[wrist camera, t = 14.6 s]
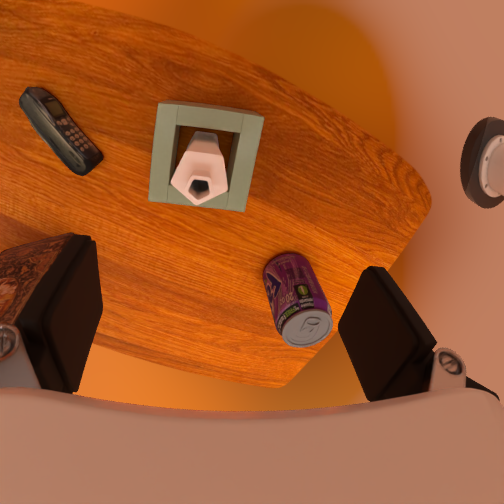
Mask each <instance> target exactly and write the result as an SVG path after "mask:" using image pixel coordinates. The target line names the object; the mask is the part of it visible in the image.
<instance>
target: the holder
mask: <svg viewBox="0 0 504 504" xmlns="http://www.w3.org/2000/svg"><path fill="white" fill-rule="evenodd" d="M263 123H264V117H263V116H262V115H260V114H259V113H257V112H255V111H250V110H244V109H238V108H232V107H225V106H219V105H211V104H204V103H196V102H187V101H177V100H165V101H163V102H160V103H158V109H157V116H156V124H155V132H154V140H153V149H152V159H151V170H150V182H149V196H148V201H152V202H162V203H171V204H181V205H190V206H199V207H207V208H216V209H224V210H232V211H240V212H245V207H246V202H247V197H248V193H249V188H250V183H251V178H252V174H253V169H254V164H255V160H256V155H257V150H258V146H259V141H260V136H261V132H262V127H263ZM181 125H183V126H192V127H200V128H208V129H215V130H223V131H229V132H234V135H233V141H232V146H231V151H230V157H229V162H228V167H227V173H226V178H227V185H228V190H227V191H226V192H224V193H222V194H220V195H218V196H216V197H214V198H212V199H210V200H208V201H206V202H203V203H201V204H199V205H195V204H193V203H192V202H191V201H190V200H189V199H188V198H186V197H185V196H184V195H183V194H182V193H181V192H180V191H178V190H177V189H176V188H175V187H174V186H173V185H172V184H171V180H172V177H173V175H174V173H175V171H176V169H175V163H176V155H177V147H178V140H179V133H180V126H181Z"/></svg>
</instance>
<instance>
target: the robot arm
mask: <svg viewBox="0 0 504 504" xmlns="http://www.w3.org/2000/svg"><path fill="white" fill-rule="evenodd" d="M479 182H480V186H481V188H482V190H483V191H484V193H486V194H487V195H489V196H491V197H498V196H500V195H503V196H504V136H503V135H496V136H494V137H493V138H491V139H490V140H489V142H488V143H487V144H486V146H485V148H484V150H483V152H482V155H481V158H480V163H479ZM102 311H103V302H102V294H101V287H100V279H99V270H98V260H97V249H96V242H95V241H92V240H91V237H90V236H87V235H77V234H74V235H73V236H72V237H71V238H70V240H69V241H68V242H67V244H66V245H65V246H64V248H63V249H62V251H61V252H60V253H59V255H58V256H57V258H56V259H55V261H54V262H53V264H52V265H51V267H50V268H49V270H48V271H46V273H45V274H44V275H43V277H42V278H41V280H40V281H39V283H38V284H37V286H36V287H35V289H34V291H33V292H32V294H31V296H30V297H29V299H28V300H27V302H26V304H25V306H24V307H23V309H22V311H21V312H20V314H19V316H18V318H17V319H16V321H15V323H14V325H13V324H10V323H7V322H0V504H504V407H503V406H502V404H501V403H500V401H499V397H498V395H497V394H496V393H494V392H493V391H491V390H489V389H487V388H486V387H484V386H482V385H480V384H479V383H477V382H475V381H473V380H472V379H470V378H468V377H467V376H466V366H465V364H464V361H463V360H462V358H461V357H460V356H459V355H458V354H457V353H456V352H454V351H453V350H451V349H448V348H439V349H438V350H436V351H435V353H434V352H433V350H432V349H433V348H434V346H435V345H436V343H437V342H436V340H435V338H434V337H433V335H432V334H431V332H430V331H429V329H428V328H427V326H426V325H425V323H424V322H423V321H422V319H421V318H420V316H419V315H418V313H417V312H416V311H415V309H414V308H413V306H412V305H411V303H410V302H409V301H408V299H407V298H406V296H405V295H404V294H403V292H402V291H401V289H400V288H399V287H398V285H397V284H396V283H395V281H394V280H393V278H392V277H391V276H390V275H389V273H388V272H387V271H386V269H385V268H384V267H377V266H369V267H368V268H367V269H365V270H364V271H363V272H362V274H361V276H360V278H359V281H358V283H357V285H356V287H355V289H354V292H353V294H352V296H351V298H350V300H349V302H348V304H347V306H346V309H345V311H344V313H343V315H342V317H341V319H340V321H339V323H338V331H339V333H340V336H341V338H342V340H343V343H344V345H345V347H346V350H347V352H348V354H349V357H350V359H351V362H352V364H353V366H354V369H355V371H356V374H357V376H358V378H359V381H360V383H361V386H362V388H363V391H364V393H365V396H366V398H367V400H369V401H370V402H368V403H361V404H353V405H345V406H336V407H327V408H316V409H303V410H287V411H255V412H254V411H253V412H252V411H248V412H246V411H244V412H243V411H240V412H239V411H203V410H186V409H185V410H184V409H172V408H161V407H152V406H144V405H136V404H129V403H120V402H114V401H108V400H101V399H95V398H90V397H84V396H79V395H74V394H72V393H73V392H77V391H78V389H79V385H80V381H81V378H82V374H83V371H84V367H85V364H86V361H87V357H88V354H89V351H90V348H91V345H92V342H93V339H94V336H95V333H96V330H97V327H98V324H99V321H100V318H101V315H102Z"/></svg>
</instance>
